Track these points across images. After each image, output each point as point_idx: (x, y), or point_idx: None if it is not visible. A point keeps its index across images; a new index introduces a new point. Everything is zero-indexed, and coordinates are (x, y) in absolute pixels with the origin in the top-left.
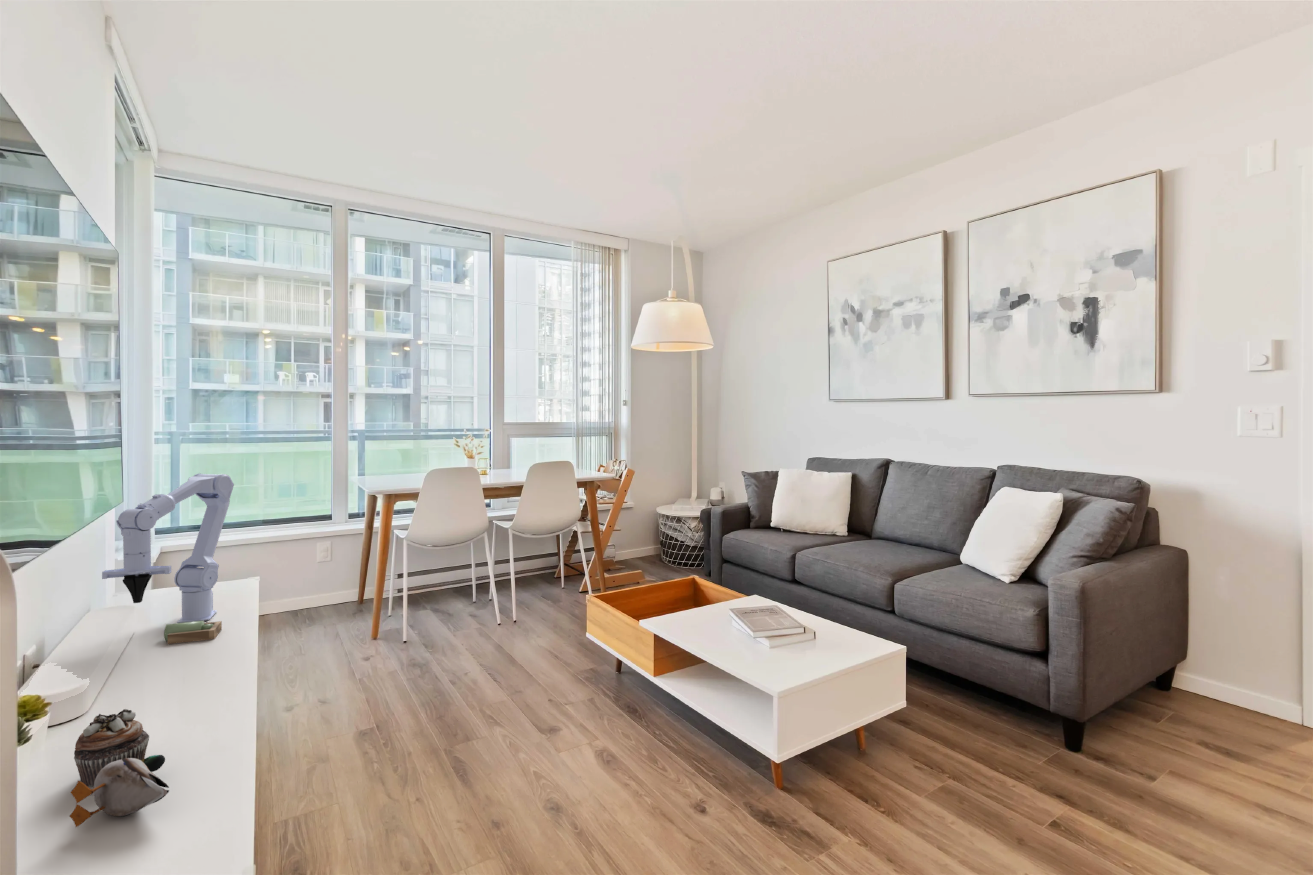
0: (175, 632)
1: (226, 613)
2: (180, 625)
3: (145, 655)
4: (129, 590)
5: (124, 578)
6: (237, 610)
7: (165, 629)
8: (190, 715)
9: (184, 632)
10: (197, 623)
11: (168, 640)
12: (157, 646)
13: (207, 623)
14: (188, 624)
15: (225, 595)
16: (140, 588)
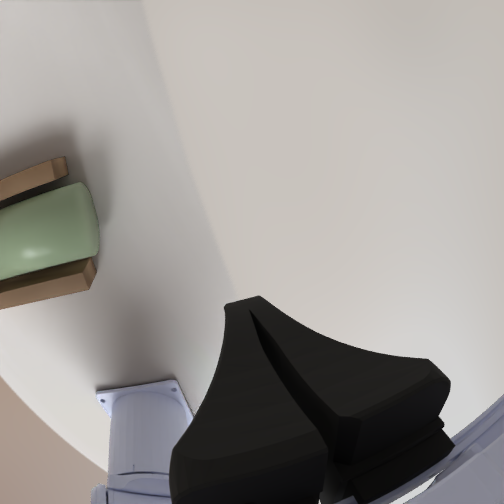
0: (40, 196)
1: (98, 431)
2: (23, 223)
3: (88, 37)
4: (324, 336)
5: (437, 423)
6: (89, 443)
7: (69, 195)
8: None
9: (6, 188)
10: None
11: (57, 158)
12: (89, 133)
13: (1, 296)
14: (1, 232)
15: None
16: (229, 372)
